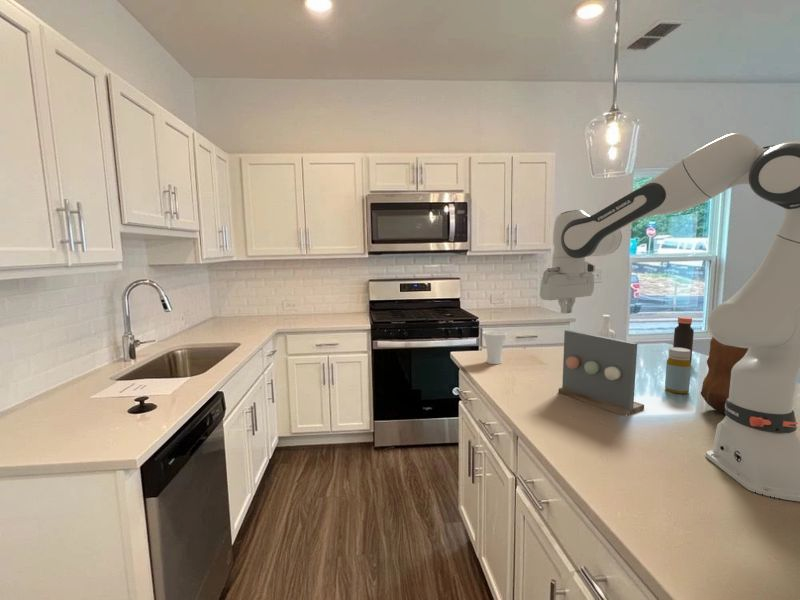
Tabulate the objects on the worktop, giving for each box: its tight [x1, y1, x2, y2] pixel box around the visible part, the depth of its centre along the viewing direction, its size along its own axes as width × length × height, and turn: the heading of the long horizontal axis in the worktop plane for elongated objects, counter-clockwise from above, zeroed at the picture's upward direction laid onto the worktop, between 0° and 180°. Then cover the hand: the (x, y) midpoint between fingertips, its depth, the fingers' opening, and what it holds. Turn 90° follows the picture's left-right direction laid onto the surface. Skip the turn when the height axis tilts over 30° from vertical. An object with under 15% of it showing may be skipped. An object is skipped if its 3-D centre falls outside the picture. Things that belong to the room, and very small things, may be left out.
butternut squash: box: [700, 336, 749, 414], centre depth 122 cm, size 14×13×25 cm
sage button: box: [584, 361, 600, 374], centre depth 132 cm, size 2×4×4 cm, turn 31°
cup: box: [482, 329, 508, 365], centre depth 181 cm, size 10×10×14 cm
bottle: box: [664, 346, 692, 395], centre depth 142 cm, size 7×7×15 cm
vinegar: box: [672, 316, 695, 363], centre depth 175 cm, size 7×7×20 cm
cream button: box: [604, 366, 621, 380], centre depth 126 cm, size 2×4×4 cm, turn 30°
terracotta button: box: [566, 356, 581, 369], centre depth 138 cm, size 2×4×4 cm, turn 30°
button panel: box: [558, 329, 645, 417], centre depth 134 cm, size 10×24×22 cm, turn 30°
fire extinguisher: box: [596, 314, 617, 339], centre depth 154 cm, size 7×12×25 cm, turn 157°
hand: (566, 313), depth 122 cm, fingers closed
